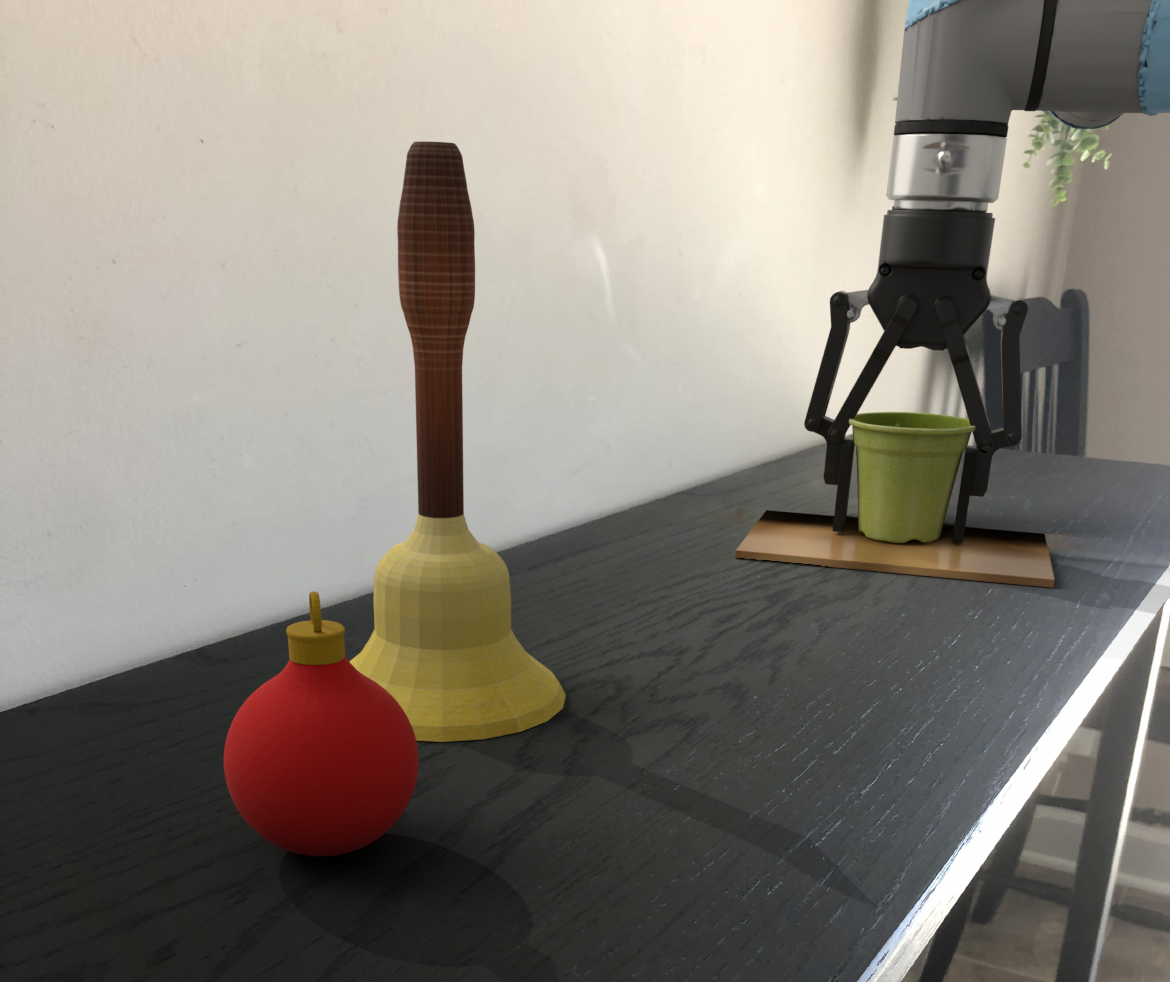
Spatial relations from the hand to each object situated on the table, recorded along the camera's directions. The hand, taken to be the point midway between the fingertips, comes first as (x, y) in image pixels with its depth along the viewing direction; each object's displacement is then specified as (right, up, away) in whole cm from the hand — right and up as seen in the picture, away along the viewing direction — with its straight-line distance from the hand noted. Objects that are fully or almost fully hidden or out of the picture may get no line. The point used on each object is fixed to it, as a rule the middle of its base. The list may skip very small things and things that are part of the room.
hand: (897, 532), depth 97 cm
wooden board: (0, -1, 0) cm, 1 cm away
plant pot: (0, 0, 0) cm, 0 cm away
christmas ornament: (-34, -22, -48) cm, 63 cm away
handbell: (-31, -15, -33) cm, 47 cm away
